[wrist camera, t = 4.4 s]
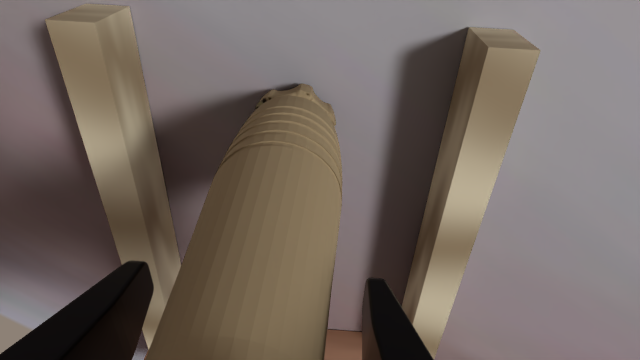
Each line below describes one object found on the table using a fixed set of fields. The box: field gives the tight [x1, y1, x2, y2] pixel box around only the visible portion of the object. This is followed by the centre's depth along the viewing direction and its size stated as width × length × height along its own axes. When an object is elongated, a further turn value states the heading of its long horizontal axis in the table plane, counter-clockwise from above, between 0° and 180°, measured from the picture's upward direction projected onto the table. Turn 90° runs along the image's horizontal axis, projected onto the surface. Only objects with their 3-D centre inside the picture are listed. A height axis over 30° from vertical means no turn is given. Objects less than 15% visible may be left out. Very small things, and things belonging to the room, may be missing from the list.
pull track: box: [45, 4, 541, 360], centre depth 19 cm, size 20×16×4 cm
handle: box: [145, 84, 342, 360], centre depth 11 cm, size 5×6×15 cm
